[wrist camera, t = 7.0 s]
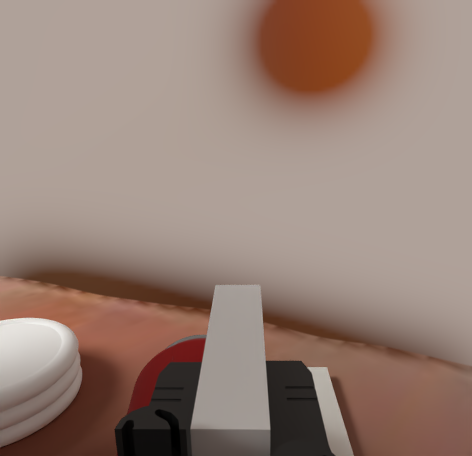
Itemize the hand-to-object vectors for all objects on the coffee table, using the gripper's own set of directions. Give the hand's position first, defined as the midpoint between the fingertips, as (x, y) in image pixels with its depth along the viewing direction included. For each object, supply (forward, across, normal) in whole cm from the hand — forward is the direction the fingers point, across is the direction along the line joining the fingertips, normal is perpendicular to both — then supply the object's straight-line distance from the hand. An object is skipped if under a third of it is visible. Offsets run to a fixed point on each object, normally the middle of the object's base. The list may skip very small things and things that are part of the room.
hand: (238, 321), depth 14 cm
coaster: (+10, -16, -11) cm, 22 cm away
